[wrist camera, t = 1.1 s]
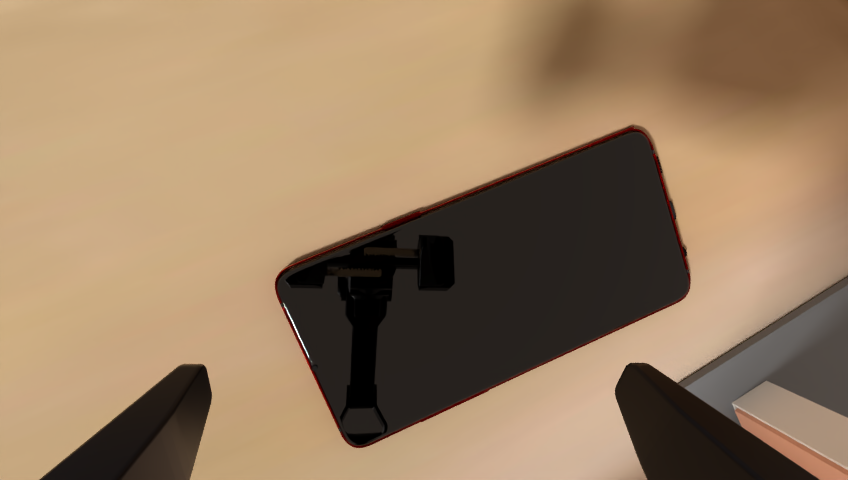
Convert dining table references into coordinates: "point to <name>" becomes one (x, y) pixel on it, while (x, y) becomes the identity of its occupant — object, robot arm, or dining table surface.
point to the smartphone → (486, 286)
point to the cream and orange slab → (797, 429)
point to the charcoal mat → (786, 358)
